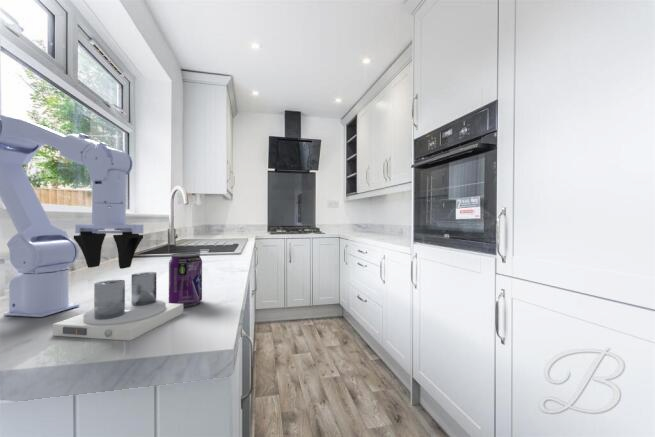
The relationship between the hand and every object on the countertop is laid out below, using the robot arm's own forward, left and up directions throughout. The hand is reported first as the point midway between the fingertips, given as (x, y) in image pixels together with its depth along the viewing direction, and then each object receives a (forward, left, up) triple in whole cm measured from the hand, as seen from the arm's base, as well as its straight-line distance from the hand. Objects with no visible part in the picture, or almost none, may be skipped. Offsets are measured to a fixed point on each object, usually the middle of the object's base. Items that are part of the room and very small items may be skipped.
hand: (109, 267), depth 61 cm
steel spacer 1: (+8, -8, -7) cm, 14 cm away
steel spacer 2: (+8, 0, -7) cm, 11 cm away
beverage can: (+12, +8, -10) cm, 18 cm away
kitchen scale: (+8, -4, -10) cm, 14 cm away
